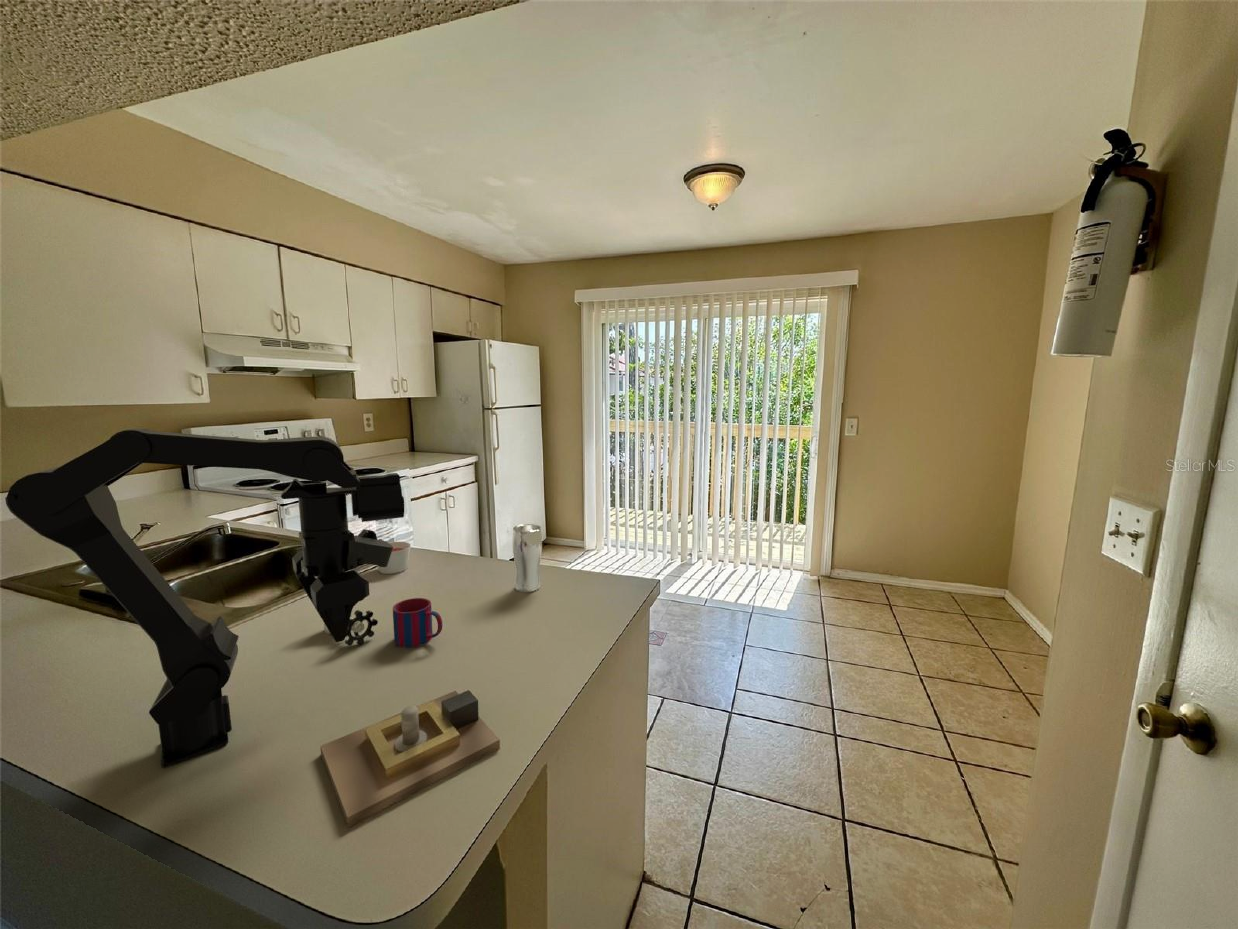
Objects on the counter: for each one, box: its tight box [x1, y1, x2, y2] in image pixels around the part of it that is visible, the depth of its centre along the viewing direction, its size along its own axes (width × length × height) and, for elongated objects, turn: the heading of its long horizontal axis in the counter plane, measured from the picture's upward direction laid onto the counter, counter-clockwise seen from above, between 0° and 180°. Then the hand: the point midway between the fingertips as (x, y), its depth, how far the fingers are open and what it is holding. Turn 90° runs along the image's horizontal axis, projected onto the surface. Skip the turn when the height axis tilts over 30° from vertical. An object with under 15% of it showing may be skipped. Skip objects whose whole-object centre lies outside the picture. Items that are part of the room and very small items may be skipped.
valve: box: [323, 609, 379, 647], centre depth 92 cm, size 7×7×12 cm
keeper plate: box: [320, 690, 501, 828], centre depth 62 cm, size 18×14×6 cm
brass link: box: [365, 689, 480, 781], centre depth 64 cm, size 13×9×3 cm
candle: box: [376, 541, 411, 575], centre depth 126 cm, size 9×9×6 cm
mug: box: [392, 597, 443, 649], centre depth 90 cm, size 7×10×7 cm
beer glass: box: [512, 523, 543, 593], centre depth 115 cm, size 7×7×15 cm
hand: (332, 629), depth 70 cm, fingers open, 9 cm apart
